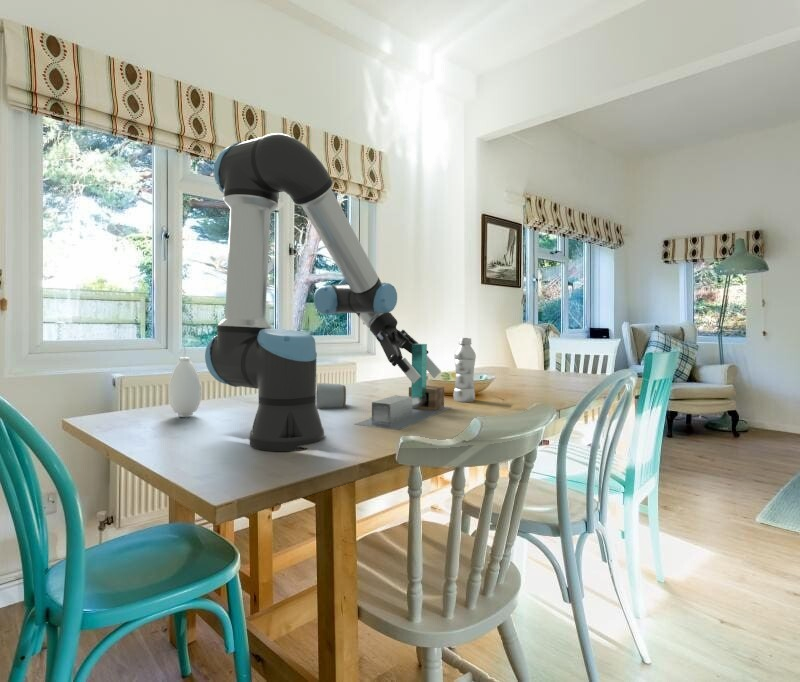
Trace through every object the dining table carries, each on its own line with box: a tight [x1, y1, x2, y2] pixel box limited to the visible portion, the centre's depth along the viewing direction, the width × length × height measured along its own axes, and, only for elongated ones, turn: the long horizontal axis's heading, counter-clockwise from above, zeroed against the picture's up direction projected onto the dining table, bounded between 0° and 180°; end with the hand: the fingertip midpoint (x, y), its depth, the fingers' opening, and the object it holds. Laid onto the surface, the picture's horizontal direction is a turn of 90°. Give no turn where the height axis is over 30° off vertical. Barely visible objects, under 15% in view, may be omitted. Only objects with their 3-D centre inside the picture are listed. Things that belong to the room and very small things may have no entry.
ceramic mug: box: [316, 382, 347, 410], centre depth 145 cm, size 11×8×8 cm
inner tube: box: [411, 343, 429, 409], centre depth 135 cm, size 17×3×17 cm, turn 153°
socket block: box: [408, 384, 445, 411], centre depth 142 cm, size 6×8×6 cm
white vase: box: [168, 347, 202, 418], centre depth 131 cm, size 8×8×18 cm
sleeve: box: [371, 394, 412, 426], centre depth 124 cm, size 12×5×5 cm, turn 153°
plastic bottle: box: [452, 337, 477, 403], centre depth 154 cm, size 6×7×20 cm
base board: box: [354, 406, 452, 431], centre depth 131 cm, size 32×12×1 cm, turn 153°
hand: (427, 377), depth 136 cm, fingers open, 13 cm apart
